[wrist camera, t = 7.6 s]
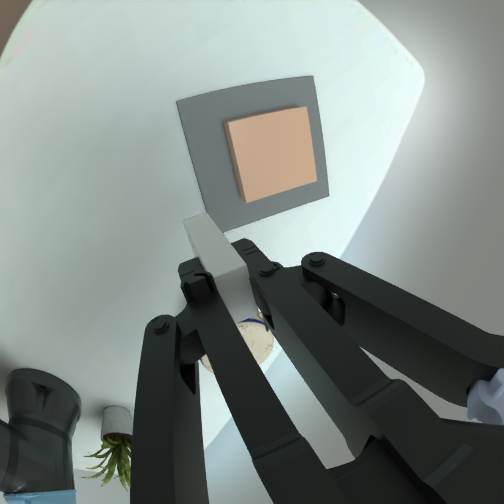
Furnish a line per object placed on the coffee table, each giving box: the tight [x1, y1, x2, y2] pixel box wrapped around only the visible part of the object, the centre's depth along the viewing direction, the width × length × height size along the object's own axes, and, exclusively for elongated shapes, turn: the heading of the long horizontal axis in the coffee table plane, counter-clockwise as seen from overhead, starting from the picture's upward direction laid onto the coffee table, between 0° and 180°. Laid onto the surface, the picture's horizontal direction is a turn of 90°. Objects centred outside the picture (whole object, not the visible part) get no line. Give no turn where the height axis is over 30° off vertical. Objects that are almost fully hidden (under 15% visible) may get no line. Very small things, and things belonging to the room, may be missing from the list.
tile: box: [223, 106, 317, 203], centre depth 30 cm, size 2×9×9 cm
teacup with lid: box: [200, 312, 274, 373], centre depth 34 cm, size 12×9×12 cm
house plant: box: [82, 406, 133, 490], centre depth 35 cm, size 14×14×16 cm
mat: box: [176, 76, 329, 233], centre depth 31 cm, size 16×16×1 cm
